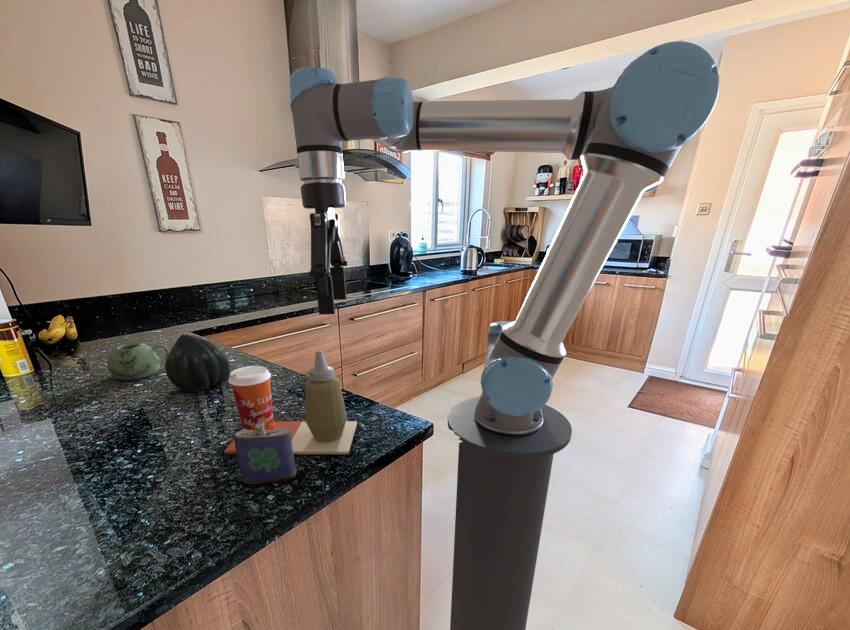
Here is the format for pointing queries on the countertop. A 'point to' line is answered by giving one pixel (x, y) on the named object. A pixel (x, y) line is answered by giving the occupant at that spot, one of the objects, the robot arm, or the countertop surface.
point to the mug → (134, 361)
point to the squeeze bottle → (324, 402)
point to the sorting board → (311, 439)
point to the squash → (196, 364)
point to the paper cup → (253, 396)
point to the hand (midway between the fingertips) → (334, 306)
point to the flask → (265, 454)
